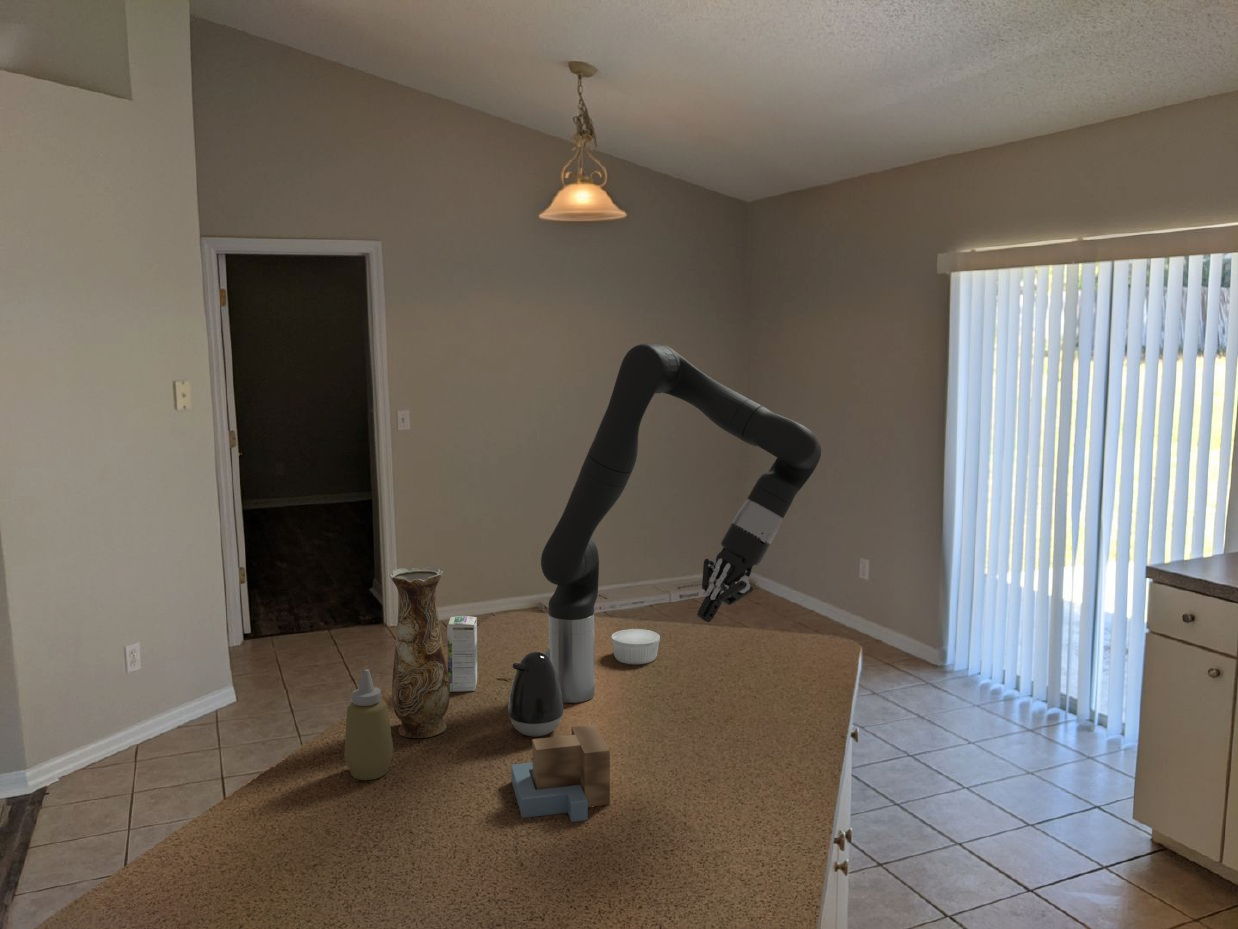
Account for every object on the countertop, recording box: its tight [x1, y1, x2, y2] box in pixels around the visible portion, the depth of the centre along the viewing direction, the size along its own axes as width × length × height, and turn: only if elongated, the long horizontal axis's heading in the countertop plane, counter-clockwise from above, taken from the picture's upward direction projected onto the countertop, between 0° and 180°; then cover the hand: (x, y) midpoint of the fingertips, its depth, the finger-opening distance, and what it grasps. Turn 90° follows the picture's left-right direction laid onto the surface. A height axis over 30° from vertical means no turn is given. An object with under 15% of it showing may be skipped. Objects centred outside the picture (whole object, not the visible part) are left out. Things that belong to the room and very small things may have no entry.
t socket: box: [510, 761, 589, 823], centre depth 148 cm, size 10×18×3 cm, turn 14°
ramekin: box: [610, 628, 661, 665], centre depth 212 cm, size 11×11×5 cm
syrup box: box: [446, 615, 478, 693], centre depth 194 cm, size 6×6×14 cm
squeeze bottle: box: [343, 668, 394, 781], centre depth 155 cm, size 8×8×18 cm
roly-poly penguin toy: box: [507, 651, 564, 738], centre depth 172 cm, size 10×10×15 cm
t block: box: [531, 724, 611, 808], centre depth 149 cm, size 11×10×9 cm
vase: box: [389, 566, 450, 739], centre depth 172 cm, size 10×11×30 cm
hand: (702, 619), depth 160 cm, fingers closed
